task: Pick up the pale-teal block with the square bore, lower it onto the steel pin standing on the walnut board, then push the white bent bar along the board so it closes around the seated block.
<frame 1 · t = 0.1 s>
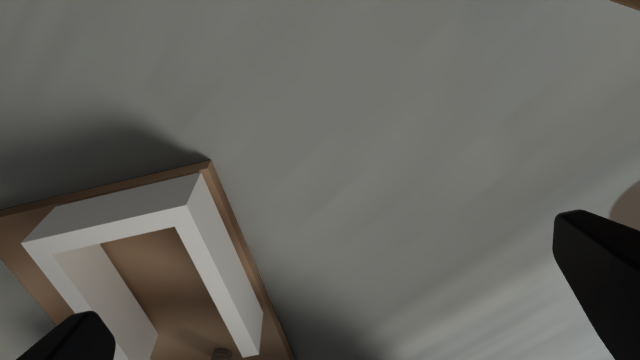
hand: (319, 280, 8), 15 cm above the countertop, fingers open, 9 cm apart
board: (161, 297, 27), on the countertop
pin: (224, 342, 30), resting on board
white bent bar: (161, 283, 23), point 3 cm above the countertop, slide at 0.0 cm
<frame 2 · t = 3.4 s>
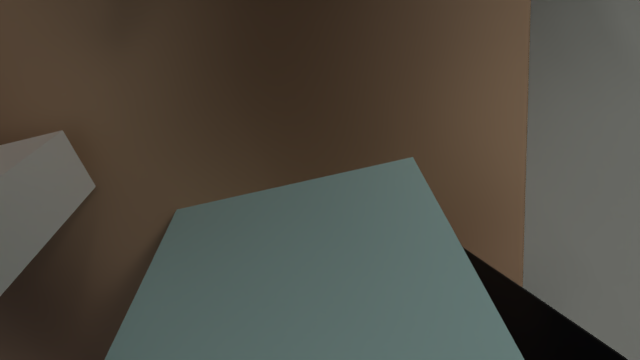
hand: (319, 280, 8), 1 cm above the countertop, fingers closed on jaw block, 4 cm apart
jaw block: (319, 273, 8), point 1 cm above the countertop, touching board, gripper
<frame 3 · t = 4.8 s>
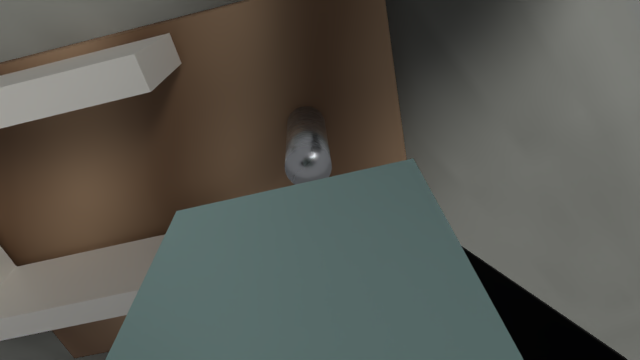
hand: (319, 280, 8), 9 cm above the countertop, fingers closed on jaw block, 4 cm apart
board: (196, 197, 17), on the countertop
pin: (305, 115, 16), resting on board
white bent bar: (54, 202, 14), point 3 cm above the countertop, slide at 0.0 cm
jaw block: (319, 274, 8), point 9 cm above the countertop, touching gripper
when the fingers open (2 cm above the countertop, at t = 6.4 s): jaw block stays where it is, resting on board.
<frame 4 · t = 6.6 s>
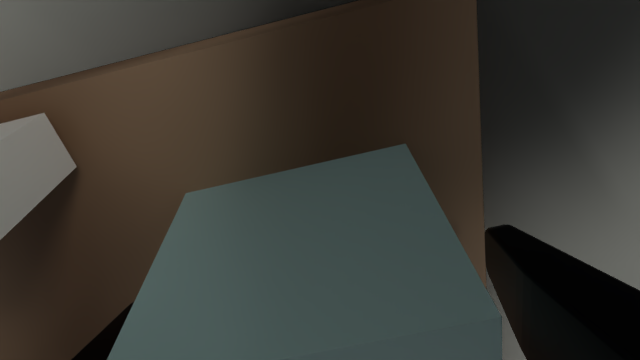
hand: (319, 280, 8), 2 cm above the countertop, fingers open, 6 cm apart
board: (140, 340, 11), on the countertop
jaw block: (319, 254, 8), point 1 cm above the countertop, touching board
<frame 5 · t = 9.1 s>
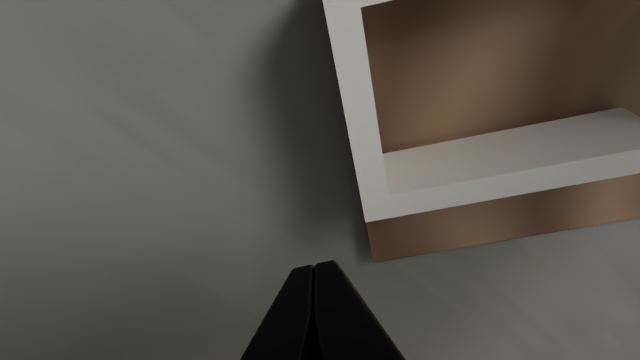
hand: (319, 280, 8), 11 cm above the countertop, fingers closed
board: (555, 90, 17), on the countertop
white bent bar: (500, 69, 14), point 3 cm above the countertop, slide at 0.0 cm
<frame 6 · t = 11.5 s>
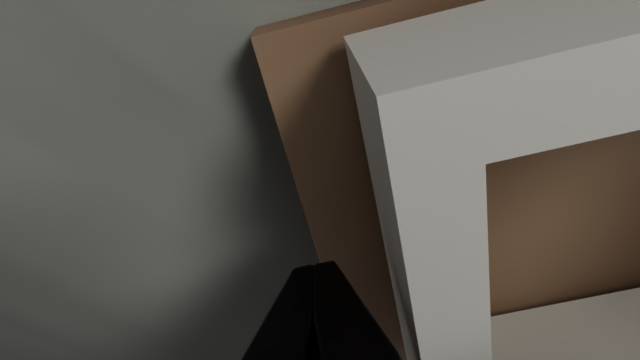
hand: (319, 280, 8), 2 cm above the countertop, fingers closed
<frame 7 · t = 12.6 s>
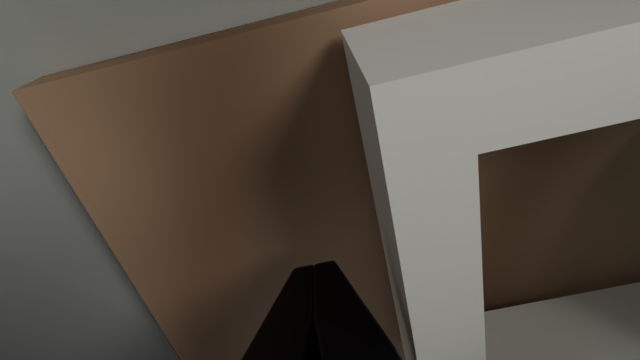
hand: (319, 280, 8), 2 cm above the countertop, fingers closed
board: (498, 249, 11), on the countertop
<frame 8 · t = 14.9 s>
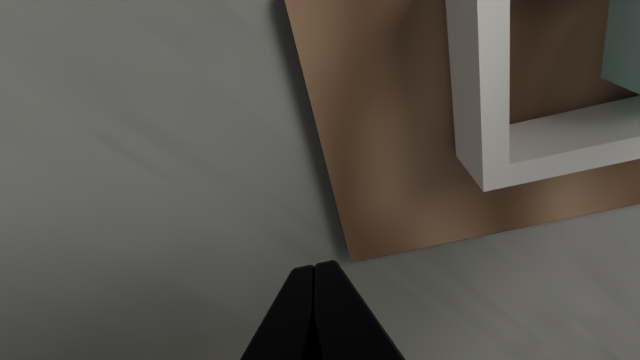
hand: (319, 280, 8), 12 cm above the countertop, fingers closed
board: (509, 97, 19), on the countertop
white bent bar: (613, 42, 15), point 3 cm above the countertop, slide at 6.0 cm
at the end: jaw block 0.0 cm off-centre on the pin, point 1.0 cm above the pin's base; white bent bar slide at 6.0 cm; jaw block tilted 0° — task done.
